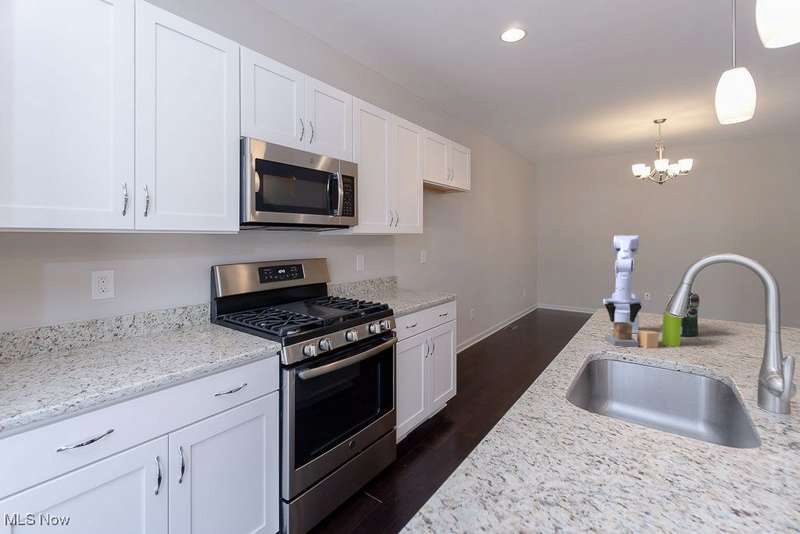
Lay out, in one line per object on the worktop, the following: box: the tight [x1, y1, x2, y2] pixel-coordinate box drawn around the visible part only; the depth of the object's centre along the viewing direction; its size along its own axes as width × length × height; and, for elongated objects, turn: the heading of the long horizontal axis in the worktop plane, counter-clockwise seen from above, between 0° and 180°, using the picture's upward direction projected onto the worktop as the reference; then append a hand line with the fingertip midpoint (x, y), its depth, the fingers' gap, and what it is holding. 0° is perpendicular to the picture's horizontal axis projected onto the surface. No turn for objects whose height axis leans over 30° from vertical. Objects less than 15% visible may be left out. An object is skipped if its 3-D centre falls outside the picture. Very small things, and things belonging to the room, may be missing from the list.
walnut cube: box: [612, 322, 633, 340], centre depth 156 cm, size 5×5×6 cm
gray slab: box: [604, 334, 640, 348], centre depth 156 cm, size 9×9×3 cm
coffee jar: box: [680, 293, 700, 337], centre depth 169 cm, size 10×8×19 cm
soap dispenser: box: [661, 294, 681, 347], centre depth 155 cm, size 6×7×20 cm
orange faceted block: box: [636, 329, 660, 349], centre depth 153 cm, size 5×5×6 cm
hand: (622, 321), depth 156 cm, fingers open, 7 cm apart
